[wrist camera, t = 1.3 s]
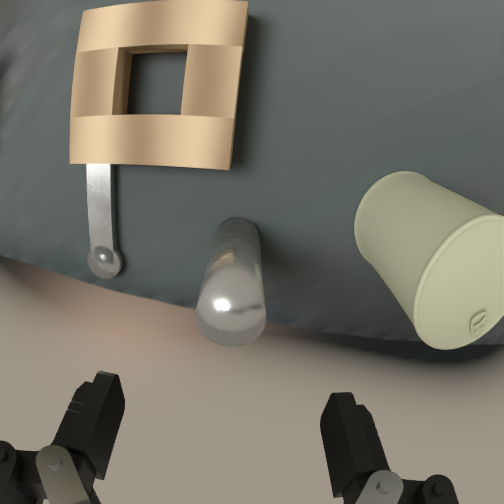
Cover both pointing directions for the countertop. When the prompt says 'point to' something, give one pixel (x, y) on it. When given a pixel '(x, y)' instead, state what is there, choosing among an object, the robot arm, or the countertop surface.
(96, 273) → the bar
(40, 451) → the robot arm
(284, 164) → the countertop surface
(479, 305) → the can
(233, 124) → the socket block
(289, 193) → the countertop surface
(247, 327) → the pin
